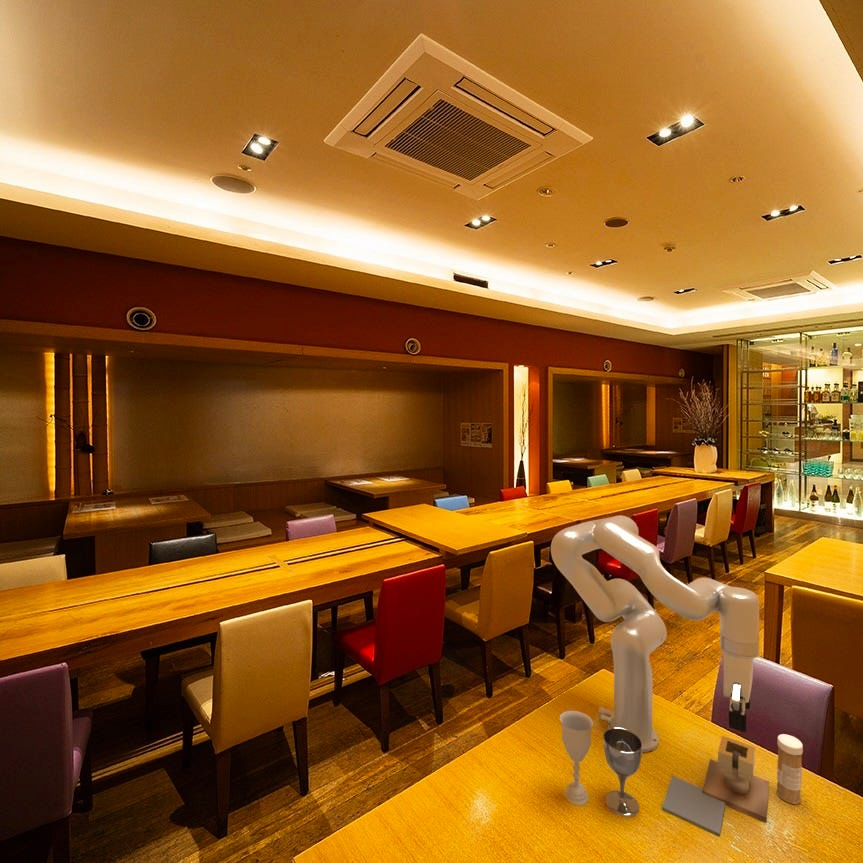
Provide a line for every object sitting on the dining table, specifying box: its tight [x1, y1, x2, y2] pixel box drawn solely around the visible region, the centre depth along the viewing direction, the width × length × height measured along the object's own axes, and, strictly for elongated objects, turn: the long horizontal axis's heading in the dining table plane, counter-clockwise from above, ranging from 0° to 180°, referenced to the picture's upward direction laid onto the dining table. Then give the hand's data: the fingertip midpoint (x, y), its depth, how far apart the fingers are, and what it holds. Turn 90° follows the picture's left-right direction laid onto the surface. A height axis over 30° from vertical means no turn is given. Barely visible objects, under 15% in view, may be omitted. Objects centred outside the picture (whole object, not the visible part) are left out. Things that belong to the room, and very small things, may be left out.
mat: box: [661, 775, 726, 837], centre depth 106 cm, size 11×11×1 cm
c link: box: [717, 735, 756, 782], centre depth 109 cm, size 7×7×4 cm
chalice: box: [559, 710, 594, 806], centre depth 108 cm, size 7×7×18 cm
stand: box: [702, 751, 770, 824], centre depth 109 cm, size 12×12×9 cm
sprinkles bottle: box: [776, 733, 804, 805], centre depth 107 cm, size 5×5×14 cm
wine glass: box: [603, 728, 643, 818], centre depth 106 cm, size 8×8×15 cm
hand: (739, 717), depth 108 cm, fingers open, 9 cm apart
